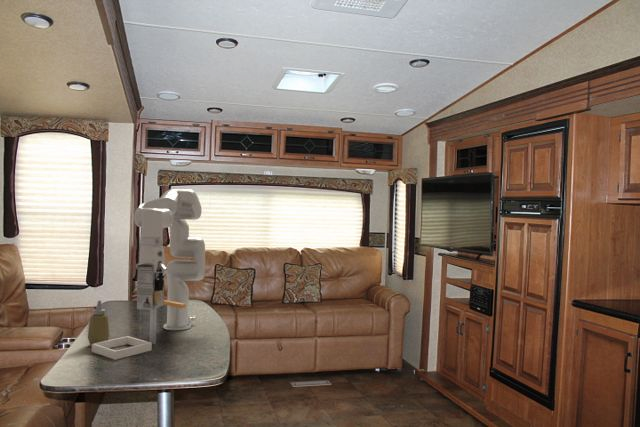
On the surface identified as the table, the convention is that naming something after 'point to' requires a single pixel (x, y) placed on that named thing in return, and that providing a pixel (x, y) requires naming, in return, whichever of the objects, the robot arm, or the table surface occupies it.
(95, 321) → the squeeze bottle
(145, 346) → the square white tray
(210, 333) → the table surface
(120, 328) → the table surface
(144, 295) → the coffee box
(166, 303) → the bar
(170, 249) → the robot arm
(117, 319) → the table surface
